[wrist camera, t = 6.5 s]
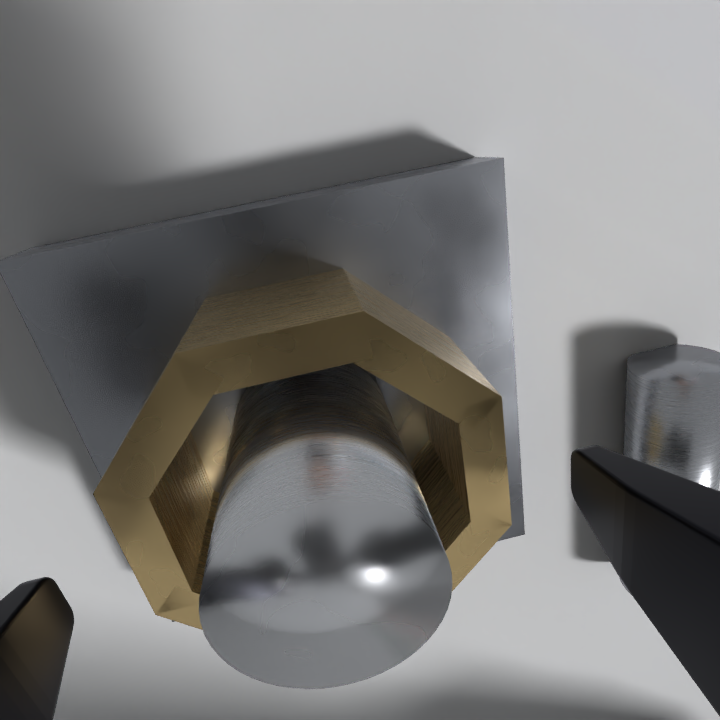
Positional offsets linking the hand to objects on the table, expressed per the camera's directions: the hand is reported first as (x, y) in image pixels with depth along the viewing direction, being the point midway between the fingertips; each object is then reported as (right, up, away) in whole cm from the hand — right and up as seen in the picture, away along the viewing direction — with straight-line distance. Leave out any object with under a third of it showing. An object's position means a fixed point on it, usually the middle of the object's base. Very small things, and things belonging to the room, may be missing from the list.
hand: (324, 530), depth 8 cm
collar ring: (-1, +1, +3) cm, 4 cm away
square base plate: (-1, +2, +5) cm, 5 cm away
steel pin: (+9, -1, +5) cm, 11 cm away
